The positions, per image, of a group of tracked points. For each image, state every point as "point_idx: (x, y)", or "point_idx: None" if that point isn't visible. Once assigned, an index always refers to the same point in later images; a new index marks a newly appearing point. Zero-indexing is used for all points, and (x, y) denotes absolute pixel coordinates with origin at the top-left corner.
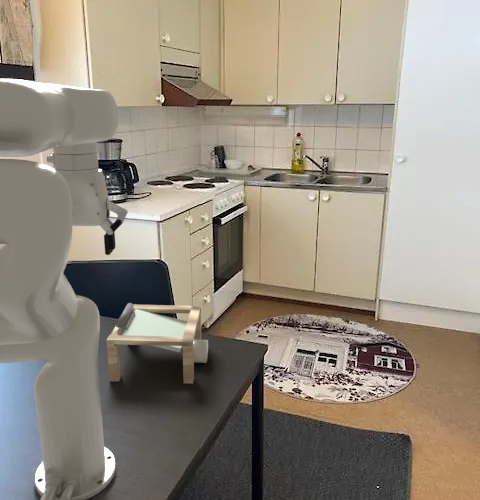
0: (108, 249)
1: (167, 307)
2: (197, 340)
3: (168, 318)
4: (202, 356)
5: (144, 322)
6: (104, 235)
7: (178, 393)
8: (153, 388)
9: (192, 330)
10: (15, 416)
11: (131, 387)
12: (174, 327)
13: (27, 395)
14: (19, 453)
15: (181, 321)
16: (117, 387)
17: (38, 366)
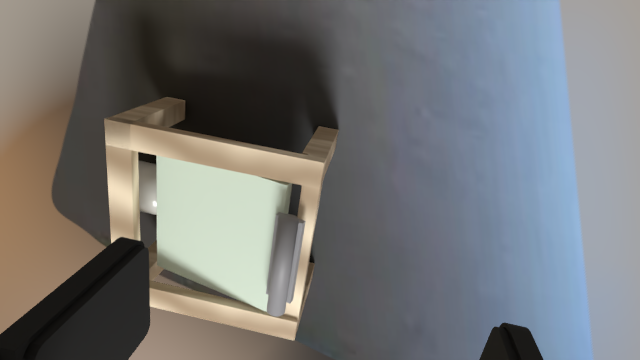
0: (98, 260)
1: (192, 305)
2: (140, 201)
3: (196, 274)
4: (140, 164)
5: (243, 251)
6: (30, 358)
7: (192, 67)
8: (245, 92)
9: (113, 179)
10: (535, 21)
11: (291, 102)
12: (180, 236)
13: (515, 102)
14: None
15: (170, 264)
16: (320, 106)
17: (501, 214)
